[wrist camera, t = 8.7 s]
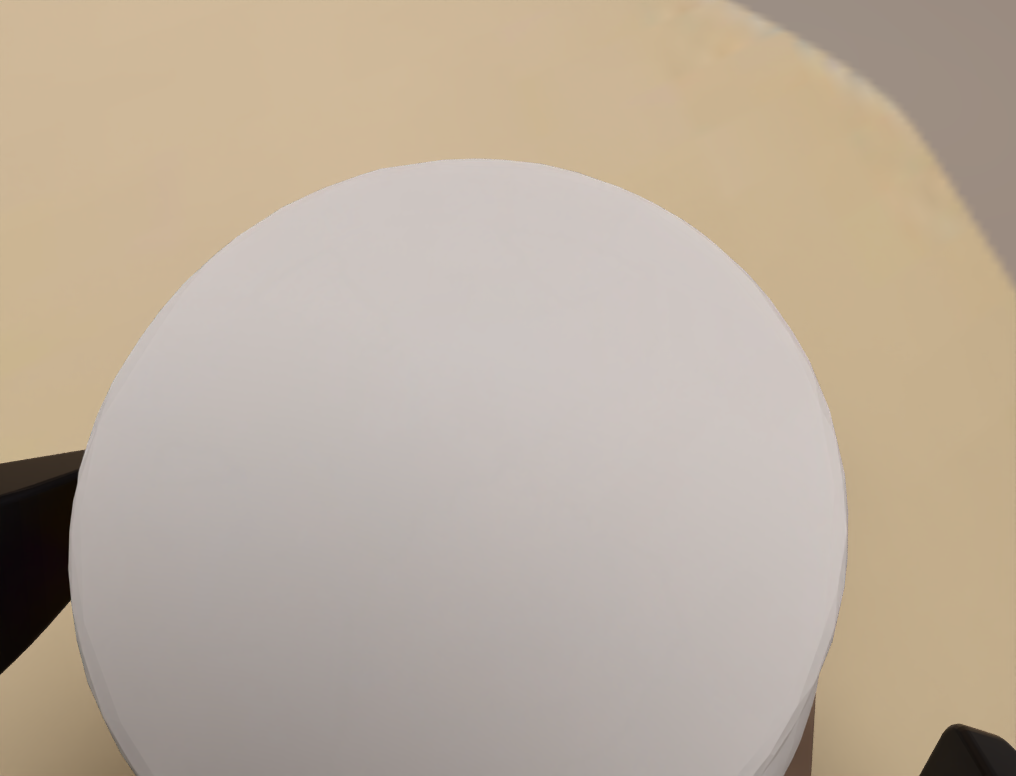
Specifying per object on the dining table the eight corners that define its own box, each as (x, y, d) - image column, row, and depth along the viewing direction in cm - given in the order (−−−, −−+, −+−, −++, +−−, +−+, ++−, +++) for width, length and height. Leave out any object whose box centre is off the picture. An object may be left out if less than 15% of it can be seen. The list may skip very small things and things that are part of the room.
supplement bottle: (312, 642, 16) (-307, 475, 5) (519, 435, 18) (450, -77, 6) (531, 895, 14) (420, 1769, 3) (743, 635, 16) (1275, 430, 4)
